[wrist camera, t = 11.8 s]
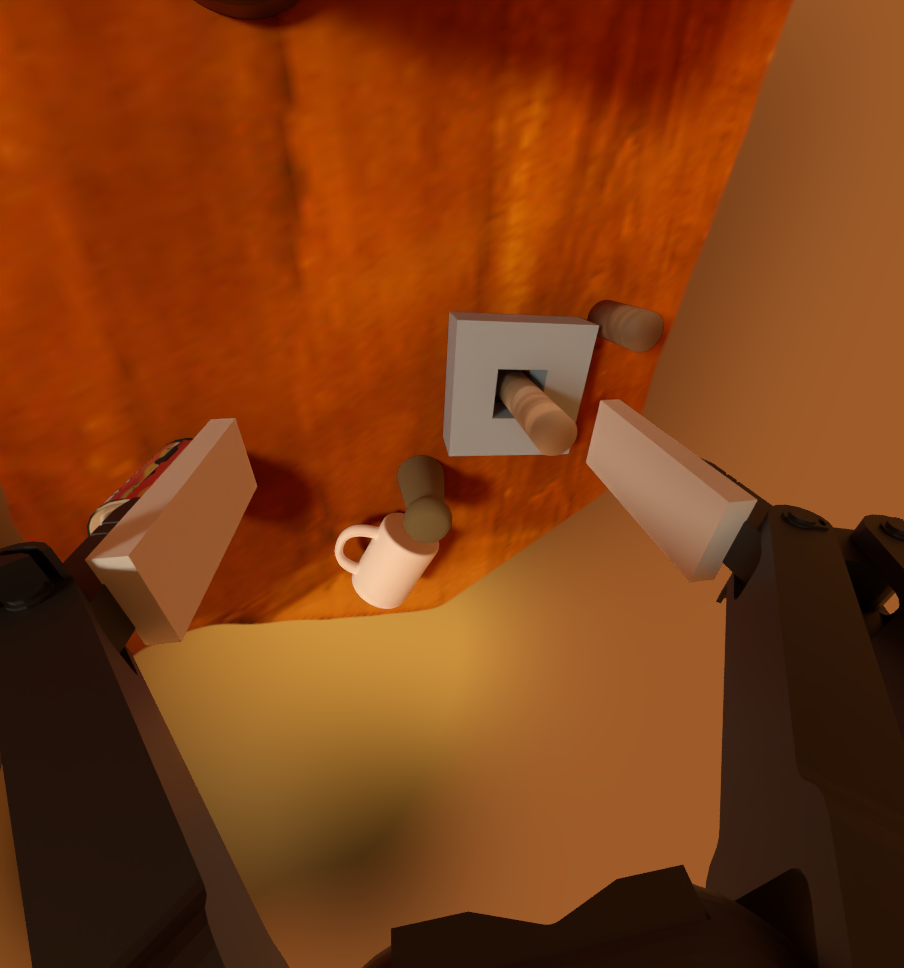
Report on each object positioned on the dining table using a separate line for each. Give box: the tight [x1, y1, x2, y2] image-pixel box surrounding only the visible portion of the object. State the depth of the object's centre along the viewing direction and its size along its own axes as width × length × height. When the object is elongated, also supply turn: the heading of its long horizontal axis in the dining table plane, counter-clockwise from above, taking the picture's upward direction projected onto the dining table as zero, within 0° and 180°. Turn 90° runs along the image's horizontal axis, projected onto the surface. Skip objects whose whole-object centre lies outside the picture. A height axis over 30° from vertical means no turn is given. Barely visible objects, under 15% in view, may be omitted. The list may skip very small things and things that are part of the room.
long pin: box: [496, 369, 577, 456], centre depth 38 cm, size 4×4×15 cm
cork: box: [397, 455, 452, 543], centre depth 45 cm, size 6×6×11 cm
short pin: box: [587, 300, 664, 353], centre depth 39 cm, size 4×4×8 cm
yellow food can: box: [87, 438, 194, 537], centre depth 40 cm, size 9×9×12 cm
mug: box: [335, 513, 439, 609], centre depth 50 cm, size 12×10×8 cm
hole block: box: [443, 312, 599, 456], centre depth 42 cm, size 14×14×5 cm
